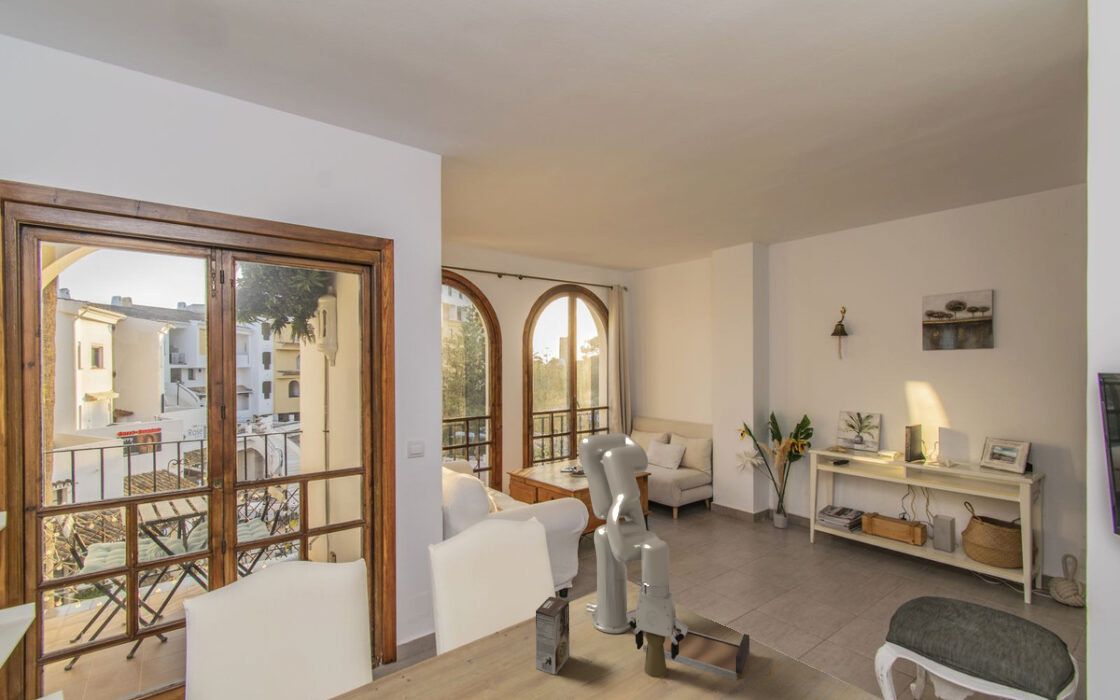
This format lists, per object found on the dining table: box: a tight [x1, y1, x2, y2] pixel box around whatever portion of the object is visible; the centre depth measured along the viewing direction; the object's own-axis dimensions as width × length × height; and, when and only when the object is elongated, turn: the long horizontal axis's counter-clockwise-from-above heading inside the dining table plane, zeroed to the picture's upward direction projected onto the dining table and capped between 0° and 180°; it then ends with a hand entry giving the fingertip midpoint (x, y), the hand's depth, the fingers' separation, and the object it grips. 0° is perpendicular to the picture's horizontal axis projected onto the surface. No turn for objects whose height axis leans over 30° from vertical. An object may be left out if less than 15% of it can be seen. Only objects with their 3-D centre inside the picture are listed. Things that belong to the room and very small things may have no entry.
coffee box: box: [535, 596, 570, 675], centre depth 141 cm, size 9×6×16 cm
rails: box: [642, 626, 740, 681], centre depth 146 cm, size 26×15×2 cm, turn 60°
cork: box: [643, 632, 668, 679], centre depth 137 cm, size 6×6×11 cm
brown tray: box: [663, 630, 751, 679], centre depth 145 cm, size 24×12×6 cm, turn 60°
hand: (657, 651), depth 137 cm, fingers open, 9 cm apart
